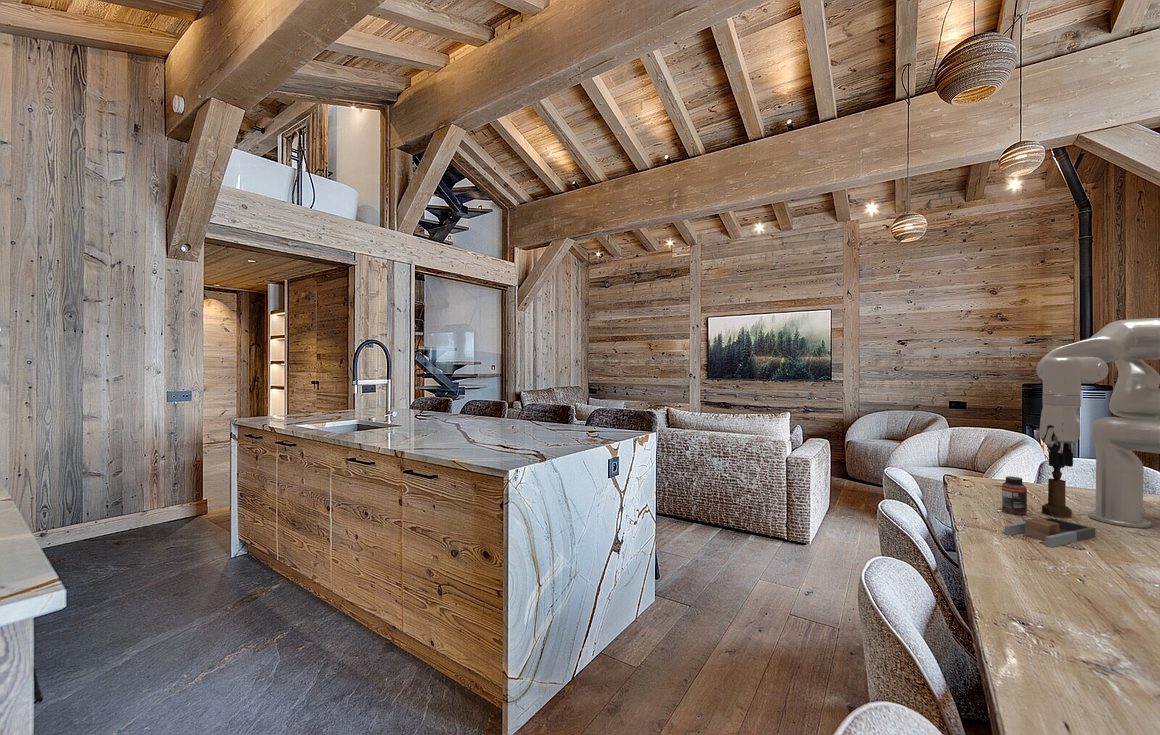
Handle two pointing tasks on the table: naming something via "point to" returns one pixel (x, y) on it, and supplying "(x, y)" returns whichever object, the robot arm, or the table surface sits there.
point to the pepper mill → (1056, 497)
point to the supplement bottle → (1014, 496)
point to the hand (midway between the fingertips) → (1060, 465)
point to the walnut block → (1040, 528)
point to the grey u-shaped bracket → (1066, 532)
